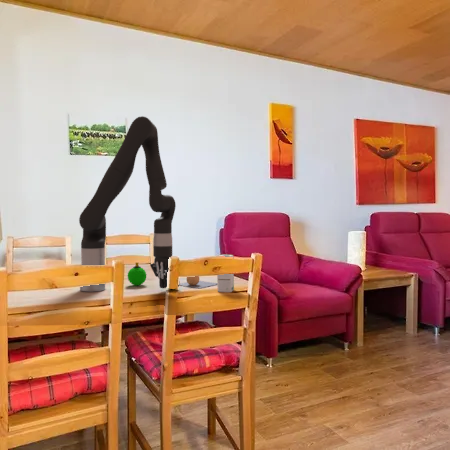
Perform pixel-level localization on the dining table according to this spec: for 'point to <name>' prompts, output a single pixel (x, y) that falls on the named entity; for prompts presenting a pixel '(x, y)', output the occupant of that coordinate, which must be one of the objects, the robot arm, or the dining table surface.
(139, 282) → the ornament
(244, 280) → the dining table surface
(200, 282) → the slate mark
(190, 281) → the orange ball
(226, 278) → the syrup box
